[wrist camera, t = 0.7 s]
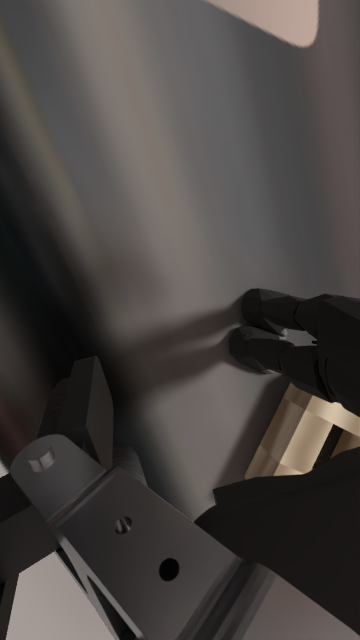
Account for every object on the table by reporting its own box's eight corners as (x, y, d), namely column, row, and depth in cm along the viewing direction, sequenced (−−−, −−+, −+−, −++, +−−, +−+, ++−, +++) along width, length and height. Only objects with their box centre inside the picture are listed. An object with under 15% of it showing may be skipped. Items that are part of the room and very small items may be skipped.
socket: (243, 477, 37) (262, 499, 33) (298, 365, 37) (322, 374, 34) (332, 511, 41) (357, 534, 37) (380, 410, 41) (410, 423, 38)
